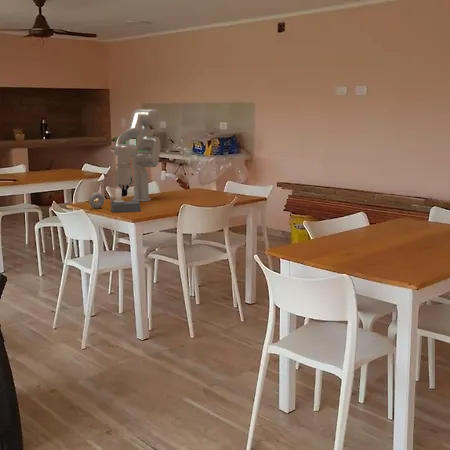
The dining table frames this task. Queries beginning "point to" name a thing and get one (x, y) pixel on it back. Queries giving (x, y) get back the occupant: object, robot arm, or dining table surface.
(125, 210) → the socket block
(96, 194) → the donut
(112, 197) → the clip
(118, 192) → the plug
